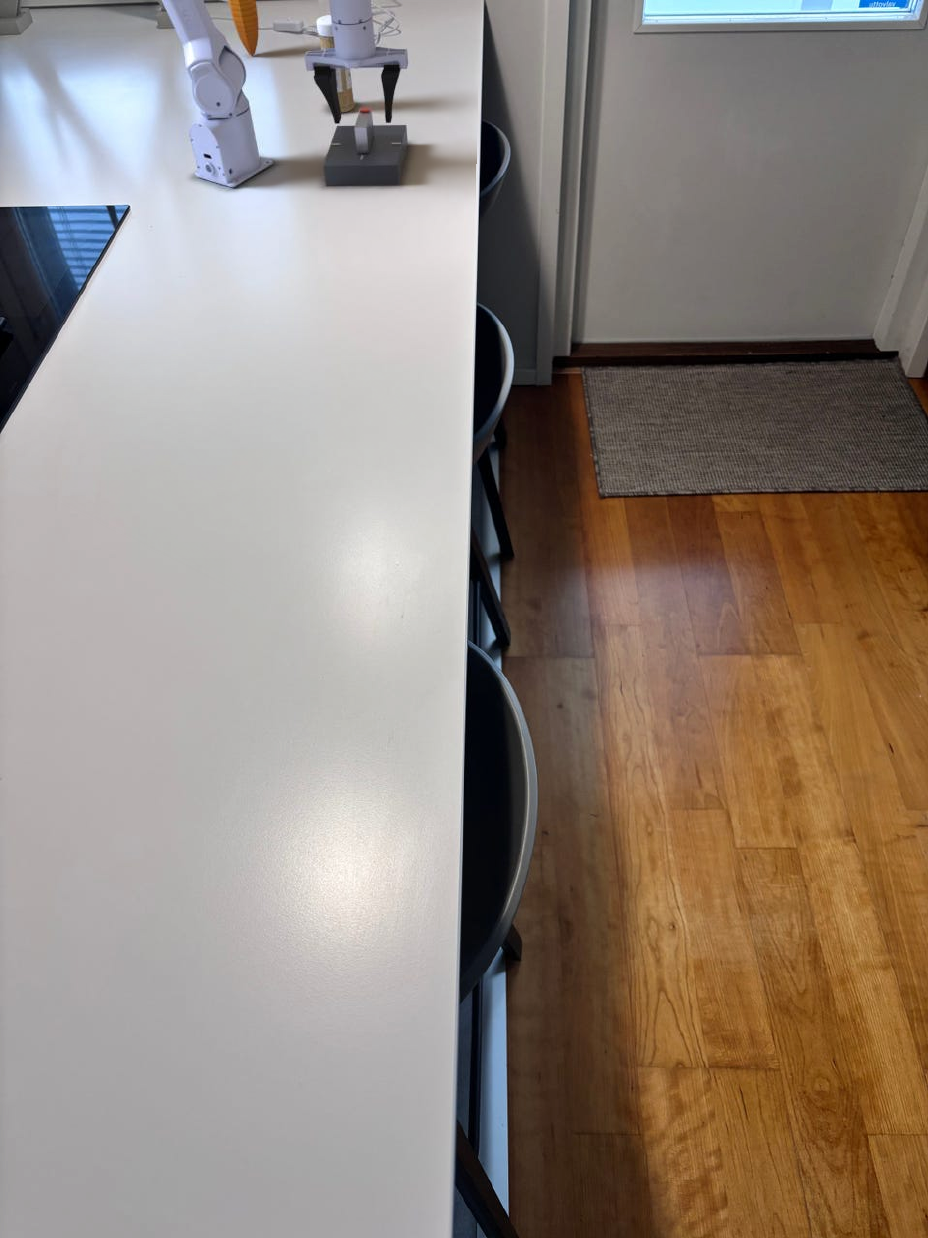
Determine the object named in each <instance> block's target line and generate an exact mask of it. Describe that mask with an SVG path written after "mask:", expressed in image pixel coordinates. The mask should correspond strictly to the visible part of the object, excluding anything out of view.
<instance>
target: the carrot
mask: <svg viewBox="0 0 928 1238" xmlns="http://www.w3.org/2000/svg"><path fill="white" fill-rule="evenodd" d="M227 1H228V5H229V9H230V15H231V18H232V21H233V24H234V27H235V30H236V32H237V36H238V38H239V39H240V41H241V44H242V45H243V47H244V48H245V50H246V51H247V53H248V54H249V55H250V56H251V57H254V55H255V54H256V51H257V47H258V43H259V42H258V41H259V13H258V7H257V1H256V0H227Z"/></svg>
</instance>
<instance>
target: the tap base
mask: <svg viewBox="0 0 928 1238" xmlns="http://www.w3.org/2000/svg"><path fill="white" fill-rule="evenodd" d="M354 127H355V125H337V126H336V128H335V130H334V133H333V136H332V139H331V141H330V145H329V147H328V150H327V154H326V157H325V160H324V162H323V166H322V167H323V173H324V175H323V176H324V181H325V186H326V187H342V186H343V187H344V186H345V187H349V186H351V187H352V186H353V187H355V186H356V187H357V186H358V187H359V186H361V187H362V186H363V187H364V186H367V187H368V186H399V185H400V182H401V178H402V173H403V168H404V164H405V160H406V159H405V158H406V154H407V151H408V145H409V140H408V129H407V124H373V128H374V137H373V141H372V144H371V148H370V152H369V153H368V154H358V153H357V147H356V138H355V130H354Z"/></svg>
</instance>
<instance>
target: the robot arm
mask: <svg viewBox="0 0 928 1238" xmlns="http://www.w3.org/2000/svg"><path fill="white" fill-rule="evenodd" d="M161 2H162V4H163V7H164V8H165V11H166V13H167V15H168V17H169V19H170V22H171V23H172V25H173V28H174V30H175V32H176V34H177V35H178V38H179V40H180V42H181V44H182V47H183V54H184V61H185V69H186V71H187V74H188V75H189V77H190V80H191V94H192V98H193V99H194V102H195V104H196V106H197V107H198V108H199V109H200V113H199V116H198V118H197V120H196V121H194V122H193V124H192V125H191V126H190V128H189V140H190V145H191V148H192V152H193V156H194V160H195V164H196V168H197V171H196V172H195V177H197V178H200V179H203V180H206V181H209V182H212V183H217V184H219V185H223V186H226V187H229V188H235V187H237V186H238V185H240V184H242V183H244V182H245V181H247V180H248V179H250V178H252V177H254V176H255V175H257V174H258V173H260V172H262V171H263V170H265V169H267V168H268V167H270V166H272V165H273V164H274V161H273V160H272V159H270V158H266V157H262V156H260V152H259V151H260V150H259V146H258V141H257V140H258V139H257V136H256V131H255V125H254V120H253V116H252V110H251V105H250V101H249V99H248V97H247V96H246V95H245V93H244V91H243V88H244V86H245V84H246V81H247V80H246V79H247V68H246V66H245V63H244V61H243V60H242V58H241V56H239V55H238V54H237V52H236V51H234V50H233V49H232V47H231V46H230V44H229V42H228V40H227V38H226V36H225V34H223V33H222V32H221V31H220V30H219V29H218V28H217V27H216V26H215V23H214V21H213V19H212V17H211V14H210V12H209V10H208V8H207V5H206V3H205V1H204V0H161ZM328 4H329V11H330V15H331V21H332V29H333V36H334V44H335V48H332V49H325V50H321V49H320V50H319V49H318V50H307V51H306V52H305V55H304V61H305V62H304V63H305V68H306V71H307V72H313V74H314V75H313V80H314V83H315V84H316V86H317V87H318V89H319V90H320V92H321V94H322V95H323V98H324V99H325V101H326V103H327V105H328V106H329V107H330V109H329V110H330V112H331V114H332V118H333V122H334V124H335V125H339V124H340V123H341V121H342V113H341V109H340V104H339V98H338V92H337V82H336V68H350V69H374V68H375V69H377V68H378V69H379V68H381V69H382V68H383V69H382V71H381V74H380V79H381V87H382V91H383V99H384V119H385V123H386V124H391V123H392V119H393V104H394V98H395V97H394V96H395V91H396V88H397V84H398V81H399V77H400V74H401V70H407V69H408V67H409V54H408V48H407V49H406V48H391V47H385V46H384V47H383V46H376V39H375V29H374V19H373V17H374V16H373V9H372V8H373V7H372V0H328ZM329 107H328V108H329Z"/></svg>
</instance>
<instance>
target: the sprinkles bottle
mask: <svg viewBox="0 0 928 1238" xmlns="http://www.w3.org/2000/svg"><path fill="white" fill-rule="evenodd" d="M316 28H317V34H318V37H319V42H320V43H319V44H320V50H325V49H332V48H335V44H334V36H333V29H332V21H331V14H327V15H322V16H319V18H317V20H316ZM336 82H337V92H338V98H339V104H340V109H341V114H342V113H347V112H350V111H352V110H354V108H355V106H356V102H355V100H354V93H353V82H352V75H351V68H336ZM328 109H329V110H330V107H329V105H328Z"/></svg>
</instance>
